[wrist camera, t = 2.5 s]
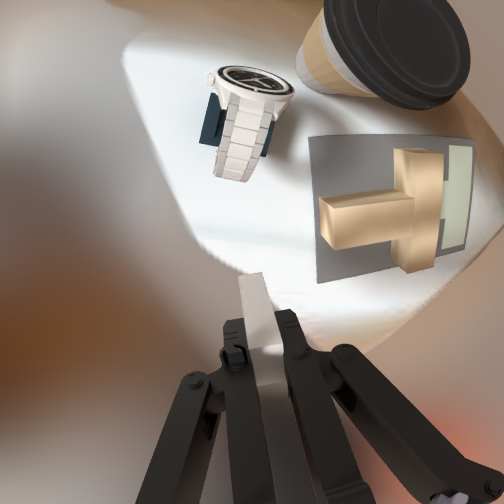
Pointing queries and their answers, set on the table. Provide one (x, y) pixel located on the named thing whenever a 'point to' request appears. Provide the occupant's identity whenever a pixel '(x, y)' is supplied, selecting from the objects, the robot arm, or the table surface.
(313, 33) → the coffee cup
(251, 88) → the watch
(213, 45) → the table surface
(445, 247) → the mat
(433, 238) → the t block
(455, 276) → the table surface
